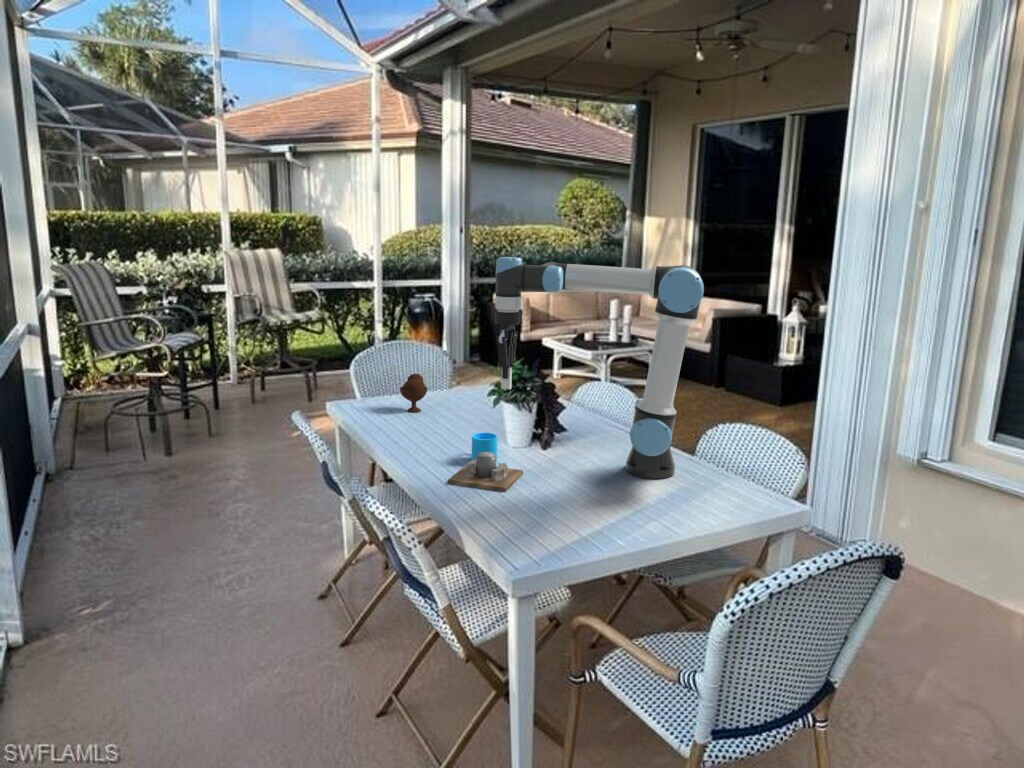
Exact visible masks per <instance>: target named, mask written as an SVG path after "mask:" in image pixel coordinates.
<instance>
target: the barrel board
mask: <svg viewBox="0 0 1024 768" xmlns="http://www.w3.org/2000/svg"><path fill="white" fill-rule="evenodd" d="M523 475H524V470H523V469H516V468H509V467H508V465H507V463H505V462H503V463H502V462H499V463H498V466H496V469H493V470H492V477H491V478H480V477H477V476H476V460H473V461H472V460H470V461H468V462H467V463H466V464H465V465H464V466H463V467H462V468H460V469H459V470H457V472H456V473H454V474H453V475H452V476H451V477H449V478H448V479H447V484H450V485H457V486H463V487H470V488H477V489H485V490H490V491H498V492H503V493H504V492H505V493H507V491H509V490H510V488H511V487H513V485H514V484H515V483H516V482H517V481H518V480H519V479H520V478H521V477H522V476H523Z"/></svg>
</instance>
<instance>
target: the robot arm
mask: <svg viewBox="0 0 1024 768" xmlns="http://www.w3.org/2000/svg"><path fill="white" fill-rule="evenodd" d="M562 289H564V290H565V289H566V290H576V291H578V290H579V291H594V292H605V293H606V292H607V293H619V294H629V295H630V294H632V295H634V294H635V295H646V296H649V297H650V298H652V299H654V300H656V305H655V309H654V313H655V315H656V316H657V318H658V323H657V327H656V332H655V337H654V342H653V348H652V353H651V357H650V362H649V367H648V372H647V377H646V378H647V379H646V381H645V387H644V391H643V398H641V397H640V398H637V399H636V400H635V403H634V415H633V420H632V424H631V425H632V426H631V428H630V432H629V439H630V443H631V445H632V446H631V449H630V451H629V454H628V456H627V459H626V461H625V470H626V472H628V474H630V475H632V476H636V477H639V478H645V479H654V480H655V479H656V480H657V479H666V477H667V478H670V477H672V476H673V474H674V475H675V472H676V471H675V470H676V465H675V460H674V457H673V454H672V450H671V448H672V447H671V446H672V442H673V432H674V427H675V422H676V417H677V410H676V409H675V408H676V407H674V400H675V396H676V391H677V386H678V382H679V377H680V371H681V367H682V362H683V358H684V353H685V349H686V348H685V347H686V343H687V340H688V334H689V329H690V325H691V324H692V323H693V322H695V321H697V318H698V313H699V309H700V305H701V302H702V299H703V297H704V293H705V292H704V291H705V286H704V282H703V279H702V278H701V275H700V274H699V272H698V271H697V270H696V269H695V268H693V267H692V266H689V265H684V264H680V265H679V264H678V265H668V266H667V265H665V266H664V265H663V266H660V265H655V266H653V268H636V267H625V266H624V267H621V266H606V265H591V264H576V263H575V264H573V263H560V262H559V263H557V262H556V261H548V262H545V263H543V264H541V265H540V264H539V265H535V264H534V265H533V264H523V259H522V258H521V257H515V256H501V257H498V258H497V259H496V265H495V298H494V299H493V300H494V302H495V309H496V310H495V312H494V323H495V324H496V325H499V326H500V329H499V330H498V331H499V332H498V335H497V336H496V338H495V339H496V344H497V357H498V368H501V376H500V377H501V382H500V383H501V384H500V385H501V387H500V389H502V390H512V383H513V382H512V381H513V380H512V378H513V377H512V376H513V375H512V374H513V368H514V367H515V366H516V364H515V358H516V350H517V339H518V335H519V331H518V330H516V326H517V325H520V324H521V314H522V313H521V311H520V310H521V309H522V291H524V292H541V293H550V294H551V293H559V292H561V291H562Z"/></svg>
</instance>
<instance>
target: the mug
mask: <svg viewBox="0 0 1024 768" xmlns="http://www.w3.org/2000/svg"><path fill="white" fill-rule="evenodd" d="M481 452H491V453H494V454H495V455H496V463H497V460H498V435H497V434H495V433H493V432H476V433H474V434H472V435H471V461H473V460H476V455H477V454H479V453H481Z"/></svg>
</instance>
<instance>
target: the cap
mask: <svg viewBox="0 0 1024 768" xmlns="http://www.w3.org/2000/svg"><path fill="white" fill-rule="evenodd" d="M496 467H497V462H496V455H495V454H494V453H491V452H481V453H479V454H477V455H476V476H477V477H480V478H491V477H492V470H493V469H496Z"/></svg>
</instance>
